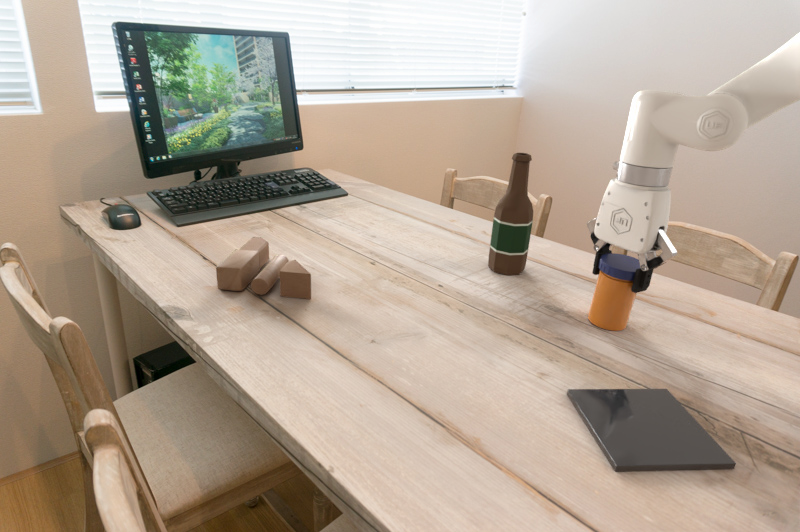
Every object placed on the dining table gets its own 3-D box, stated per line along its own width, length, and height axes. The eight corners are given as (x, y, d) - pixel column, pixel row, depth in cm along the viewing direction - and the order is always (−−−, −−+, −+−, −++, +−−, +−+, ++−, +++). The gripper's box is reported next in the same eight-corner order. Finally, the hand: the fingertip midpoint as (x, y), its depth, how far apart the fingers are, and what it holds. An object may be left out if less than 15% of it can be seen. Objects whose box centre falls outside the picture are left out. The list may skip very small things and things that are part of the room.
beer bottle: (487, 260, 115) (501, 148, 106) (523, 264, 114) (540, 152, 105) (487, 273, 108) (502, 155, 99) (526, 277, 107) (545, 159, 98)
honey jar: (617, 312, 94) (632, 259, 89) (633, 331, 88) (650, 275, 84) (582, 310, 93) (595, 257, 89) (596, 330, 88) (611, 274, 83)
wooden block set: (212, 262, 91) (250, 230, 107) (214, 292, 93) (252, 256, 109) (309, 271, 89) (332, 237, 106) (309, 301, 91) (332, 263, 108)
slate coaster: (665, 393, 72) (666, 388, 72) (734, 469, 59) (736, 463, 59) (566, 394, 70) (567, 389, 70) (615, 471, 58) (616, 465, 57)
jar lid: (645, 284, 83) (648, 275, 82) (598, 275, 85) (600, 266, 84) (642, 267, 89) (645, 258, 88) (598, 258, 91) (600, 250, 90)
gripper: (581, 165, 86) (563, 266, 92) (680, 190, 72) (650, 307, 79) (612, 163, 89) (592, 260, 96) (712, 186, 76) (681, 299, 82)
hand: (618, 281), depth 87 cm, fingers closed on jar lid, 7 cm apart
